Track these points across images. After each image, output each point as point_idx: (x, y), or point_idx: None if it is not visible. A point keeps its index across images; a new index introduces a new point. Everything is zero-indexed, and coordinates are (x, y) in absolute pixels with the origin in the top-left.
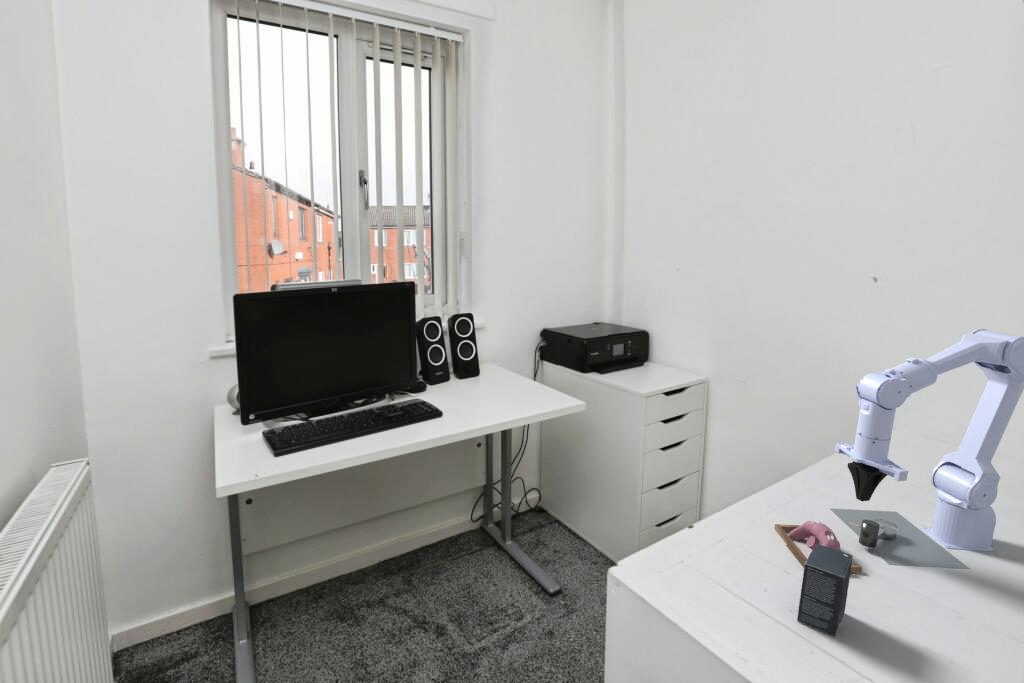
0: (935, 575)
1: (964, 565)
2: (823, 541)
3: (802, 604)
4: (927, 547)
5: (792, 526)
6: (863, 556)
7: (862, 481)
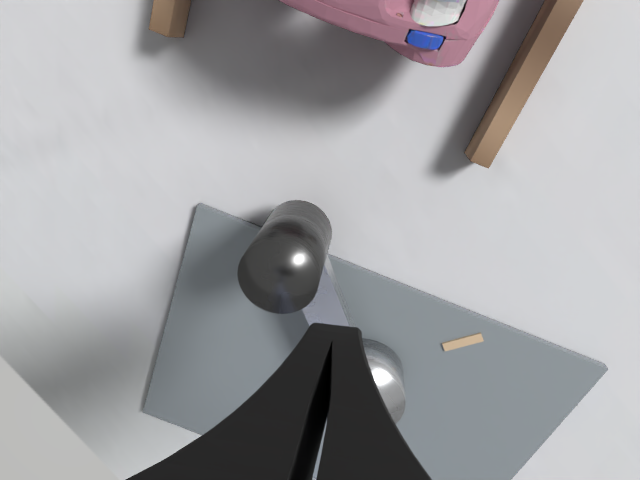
0: (135, 300)
1: (158, 415)
2: None
3: None
4: None
5: None
6: (276, 172)
7: (264, 428)
